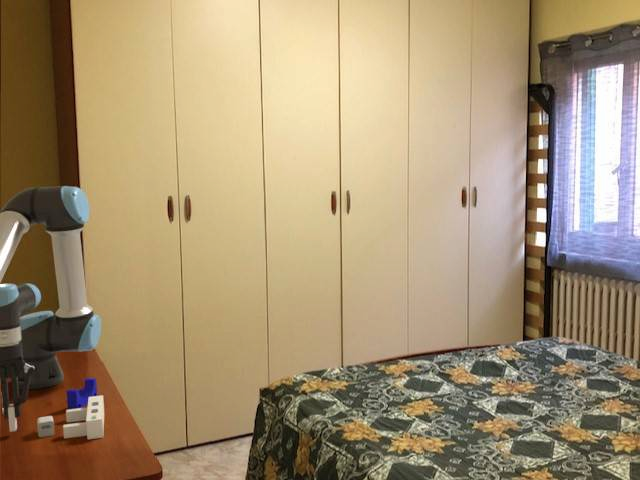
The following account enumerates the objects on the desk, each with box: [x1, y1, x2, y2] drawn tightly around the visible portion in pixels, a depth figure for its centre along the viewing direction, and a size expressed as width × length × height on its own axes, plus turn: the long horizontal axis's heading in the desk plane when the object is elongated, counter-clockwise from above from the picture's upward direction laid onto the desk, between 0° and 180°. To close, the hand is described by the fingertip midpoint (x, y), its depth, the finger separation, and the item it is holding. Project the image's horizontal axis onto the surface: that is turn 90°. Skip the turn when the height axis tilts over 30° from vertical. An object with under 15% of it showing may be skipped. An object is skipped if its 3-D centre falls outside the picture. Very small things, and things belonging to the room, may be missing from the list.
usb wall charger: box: [36, 415, 55, 438], centre depth 193 cm, size 4×7×4 cm, turn 24°
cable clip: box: [66, 377, 98, 410], centre depth 215 cm, size 12×4×6 cm, turn 169°
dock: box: [62, 394, 105, 440], centre depth 196 cm, size 20×10×5 cm, turn 16°
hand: (13, 429), depth 191 cm, fingers closed
